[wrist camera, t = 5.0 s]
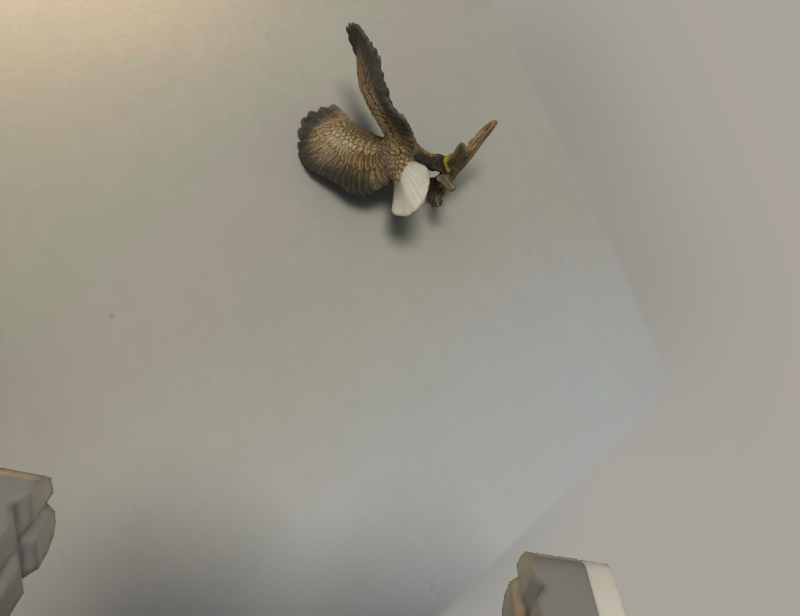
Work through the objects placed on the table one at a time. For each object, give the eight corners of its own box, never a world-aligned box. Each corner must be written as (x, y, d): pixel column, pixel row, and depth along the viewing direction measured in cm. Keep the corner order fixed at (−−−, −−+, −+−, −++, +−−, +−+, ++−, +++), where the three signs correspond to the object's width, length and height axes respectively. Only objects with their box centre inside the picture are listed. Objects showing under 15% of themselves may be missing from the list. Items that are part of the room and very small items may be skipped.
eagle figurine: (491, 120, 36) (357, 21, 35) (507, 124, 29) (340, 2, 28) (413, 230, 38) (284, 141, 37) (411, 259, 31) (252, 151, 30)
